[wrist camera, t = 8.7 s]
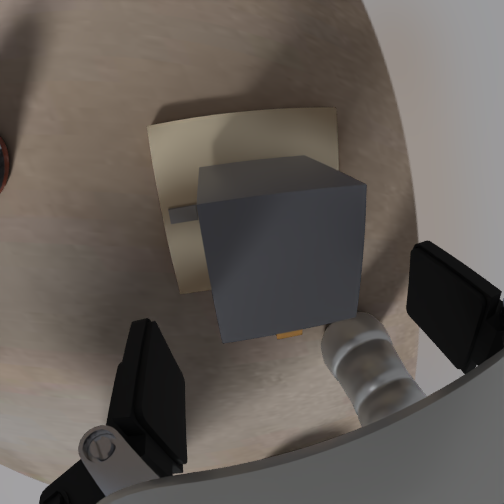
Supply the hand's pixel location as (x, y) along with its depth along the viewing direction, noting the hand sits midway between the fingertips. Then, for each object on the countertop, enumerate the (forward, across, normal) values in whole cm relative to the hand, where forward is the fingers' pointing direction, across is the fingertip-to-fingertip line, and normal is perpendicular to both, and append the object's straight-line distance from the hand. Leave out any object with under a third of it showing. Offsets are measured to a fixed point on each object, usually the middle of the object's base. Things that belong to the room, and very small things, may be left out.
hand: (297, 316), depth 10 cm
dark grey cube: (+10, -1, 0) cm, 10 cm away
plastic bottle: (+13, -7, +14) cm, 20 cm away
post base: (+12, -1, -1) cm, 13 cm away
